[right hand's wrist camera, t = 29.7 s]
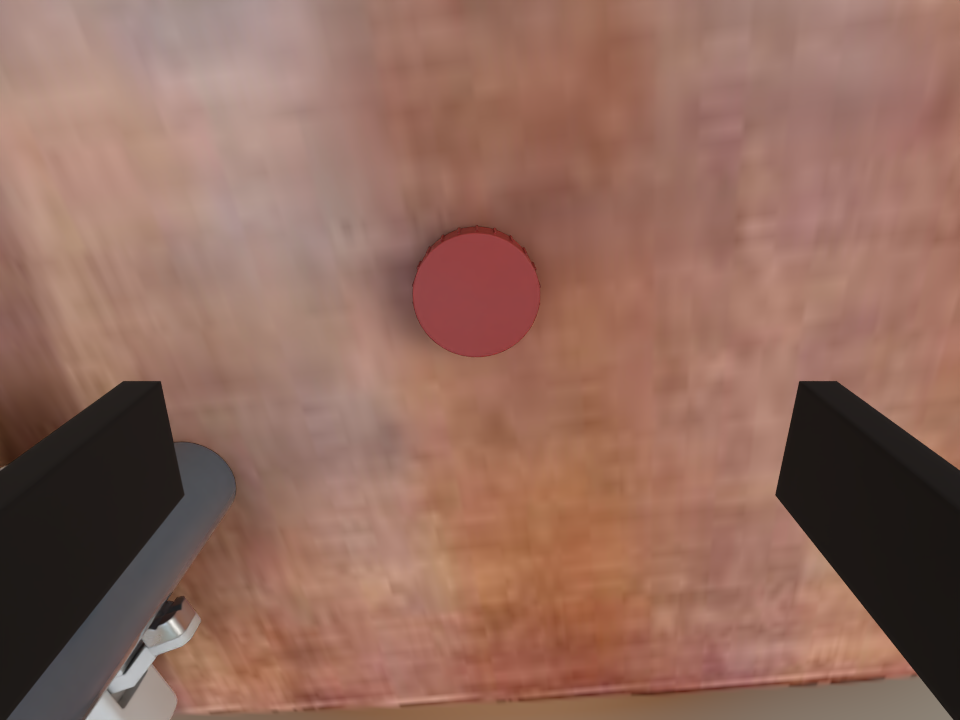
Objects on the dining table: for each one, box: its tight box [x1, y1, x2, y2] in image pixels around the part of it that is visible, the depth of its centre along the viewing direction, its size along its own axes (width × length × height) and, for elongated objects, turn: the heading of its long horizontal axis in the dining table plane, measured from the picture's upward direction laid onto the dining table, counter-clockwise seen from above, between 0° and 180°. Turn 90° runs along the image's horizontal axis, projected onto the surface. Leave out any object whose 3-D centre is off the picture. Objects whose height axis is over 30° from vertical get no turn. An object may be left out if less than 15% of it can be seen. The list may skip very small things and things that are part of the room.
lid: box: [412, 225, 541, 357], centre depth 28 cm, size 6×6×2 cm
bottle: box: [7, 442, 236, 720], centre depth 24 cm, size 5×5×18 cm
